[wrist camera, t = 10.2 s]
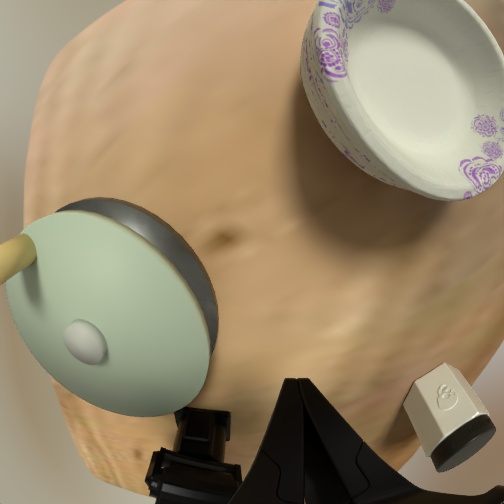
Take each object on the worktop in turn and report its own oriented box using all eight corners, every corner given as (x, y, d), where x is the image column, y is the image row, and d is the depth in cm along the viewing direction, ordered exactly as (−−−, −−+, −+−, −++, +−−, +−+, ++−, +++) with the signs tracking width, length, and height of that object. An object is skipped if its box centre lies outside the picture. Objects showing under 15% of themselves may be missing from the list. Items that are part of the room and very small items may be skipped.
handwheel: (201, 203, 16) (176, 229, 11) (219, 418, 23) (213, 466, 17) (-5, 217, 16) (-48, 237, 11) (54, 386, 23) (33, 418, 17)
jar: (457, 350, 25) (505, 415, 14) (457, 383, 28) (493, 440, 16) (397, 388, 27) (433, 465, 16) (405, 415, 29) (433, 480, 18)
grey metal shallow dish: (219, 394, 26) (216, 419, 23) (62, 363, 26) (49, 381, 23) (221, 199, 20) (214, 208, 16) (22, 200, 19) (-2, 208, 16)
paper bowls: (434, 210, 20) (496, 239, 12) (266, 142, 18) (274, 133, 11) (466, 66, 15) (523, 53, 7) (318, -16, 13) (343, -71, 6)
